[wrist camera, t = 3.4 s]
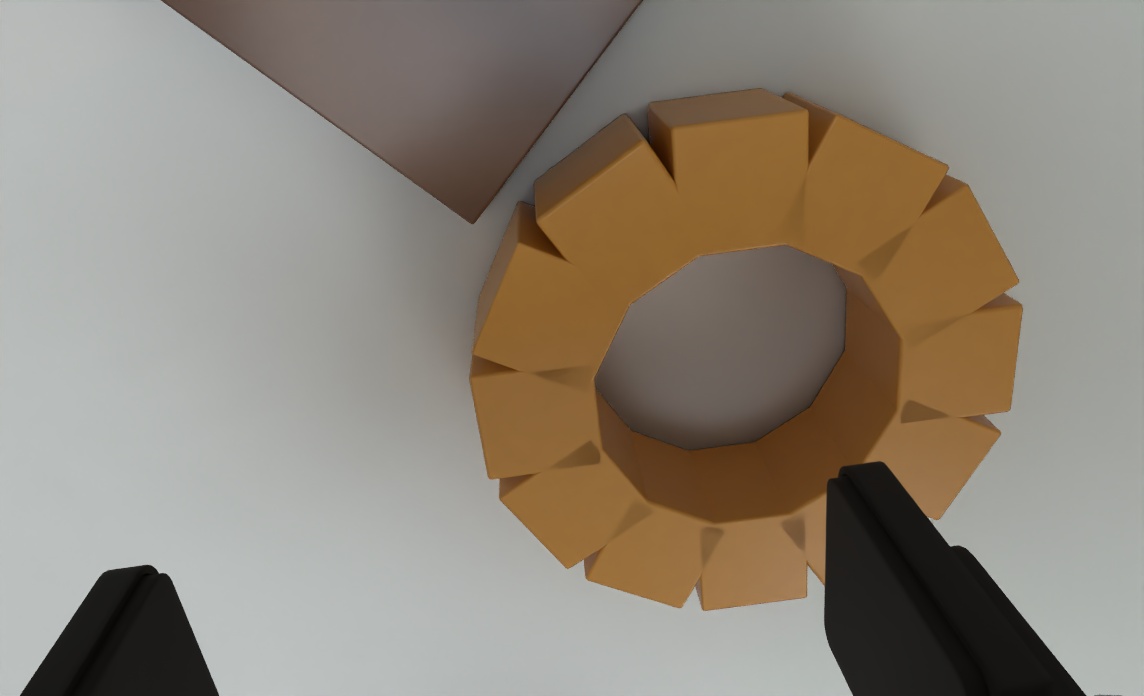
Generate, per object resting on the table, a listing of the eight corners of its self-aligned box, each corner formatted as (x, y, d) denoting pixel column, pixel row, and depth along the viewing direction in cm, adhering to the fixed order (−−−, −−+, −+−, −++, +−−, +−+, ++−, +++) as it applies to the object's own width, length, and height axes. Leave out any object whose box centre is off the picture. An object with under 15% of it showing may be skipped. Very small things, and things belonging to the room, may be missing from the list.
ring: (967, 60, 17) (1053, 77, 14) (931, 497, 21) (992, 574, 19) (441, 128, 17) (426, 159, 14) (518, 551, 21) (517, 636, 18)
